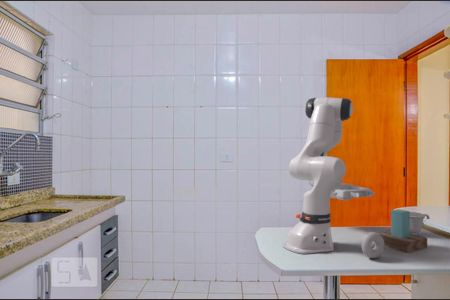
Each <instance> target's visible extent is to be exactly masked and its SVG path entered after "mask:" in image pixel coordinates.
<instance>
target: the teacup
mask: <svg viewBox="0 0 450 300" xmlns="http://www.w3.org/2000/svg"><path fill="white" fill-rule="evenodd" d="M425 217H426V218H425ZM425 219H426V220H427V219H431V218H430V215H428V214H427V213H421V212H415V211H410V234H413V235H417V236H419V234H418V233H420V232H421V231H422V229H423V225H425V224H424V223H423V222H424V220H425Z"/></svg>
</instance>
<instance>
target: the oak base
mask: <svg viewBox="0 0 450 300" xmlns="http://www.w3.org/2000/svg"><path fill="white" fill-rule="evenodd" d="M378 234H380V235H381V236H382V237H383V240H384V244H385V246H384V247H387V248H389V249H390V248H391V249H393V250H396V251H400V252H403V253H411V252H412V253H413V252H415V251H419V250H423V249H427V248H428V237H424V236H420V235H413V234H410V237H407V238H399V237H396V236H392V235H391V230H390V231H385V232H378Z"/></svg>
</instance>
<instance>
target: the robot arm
mask: <svg viewBox="0 0 450 300" xmlns="http://www.w3.org/2000/svg"><path fill="white" fill-rule="evenodd" d="M304 111H305V115H306V117H307V118H308V119H310V120H309V127H308V132H307V136H306V140H305V144H304V145H303V147H302V149H301V150H300V151H299V153H298V154H297V155H296V156H294V157H293V158H291V160H290V161H289V164H288V171H289V175H291V177H292V178H295V179H297V180H301V181H308V183H309V185H311V187H312V188H311V189H308V190H307V191H305V192H304V193H303V196H302V203H303V204H302V205H303V206H302V212H301V213H299V212H297V213H295V218H297V219H299V221H298V223H296V224H295V226H293V227H291V229H290V230H289V231H288V232H287V233H288V235H287V241H283V242H282V243H281V245H282V247H283V248H284V249H286V250H288V251H290V252H293V253H295V254H301V255H307V254H314V253H315V254H316V253H325V252H334V250H335V249H334V248H335V245H334V241H333V238H332V229H331V219H332V218H331V217H332V216H331V212H330V205H331V204H330V201H331V199H337V200H341V201H349V200H352V199H355V198H365V197H366V198H367V197H374V196H375V192H373V191H372V189H371V188H367V187H363V186H362V187H361V186H358V185H357V184H356V185H355V184H349V183H345V182H342V180H343V178H344V177H345V176H346V172H347V167H346V164H345V162H344V160H342V158H339V157H335V156H327V154H328V152H330V151H331V150H332V149H333V148H335V147H336V146H337V145H338V144H340V142H341V141H342V137H343V122H344V121H348V120H350V118H351V117H352V115H353V112H354V106H353V103H352V101H351V99H349V98H345V97H343V98H339V97H328V96H325V97H311V98H308V100H307V101H306V103H305V106H304Z"/></svg>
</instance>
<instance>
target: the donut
mask: <svg viewBox="0 0 450 300" xmlns="http://www.w3.org/2000/svg"><path fill="white" fill-rule="evenodd" d="M373 242H374V247H373V248H372V244H373ZM385 247H386V246H385V244H384V240H383V237H382V236H381V235H380V234H379V232H377V231H370V232H368V233H366V234H365V235H364V236H363V238H362V240H361V250H362V252H363V254H364V255H365V256H366V257H367V258H369V259H376V258H377V259H378V258H379V257H380V256H381V255H382V254H383V252H384V250H385Z"/></svg>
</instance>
